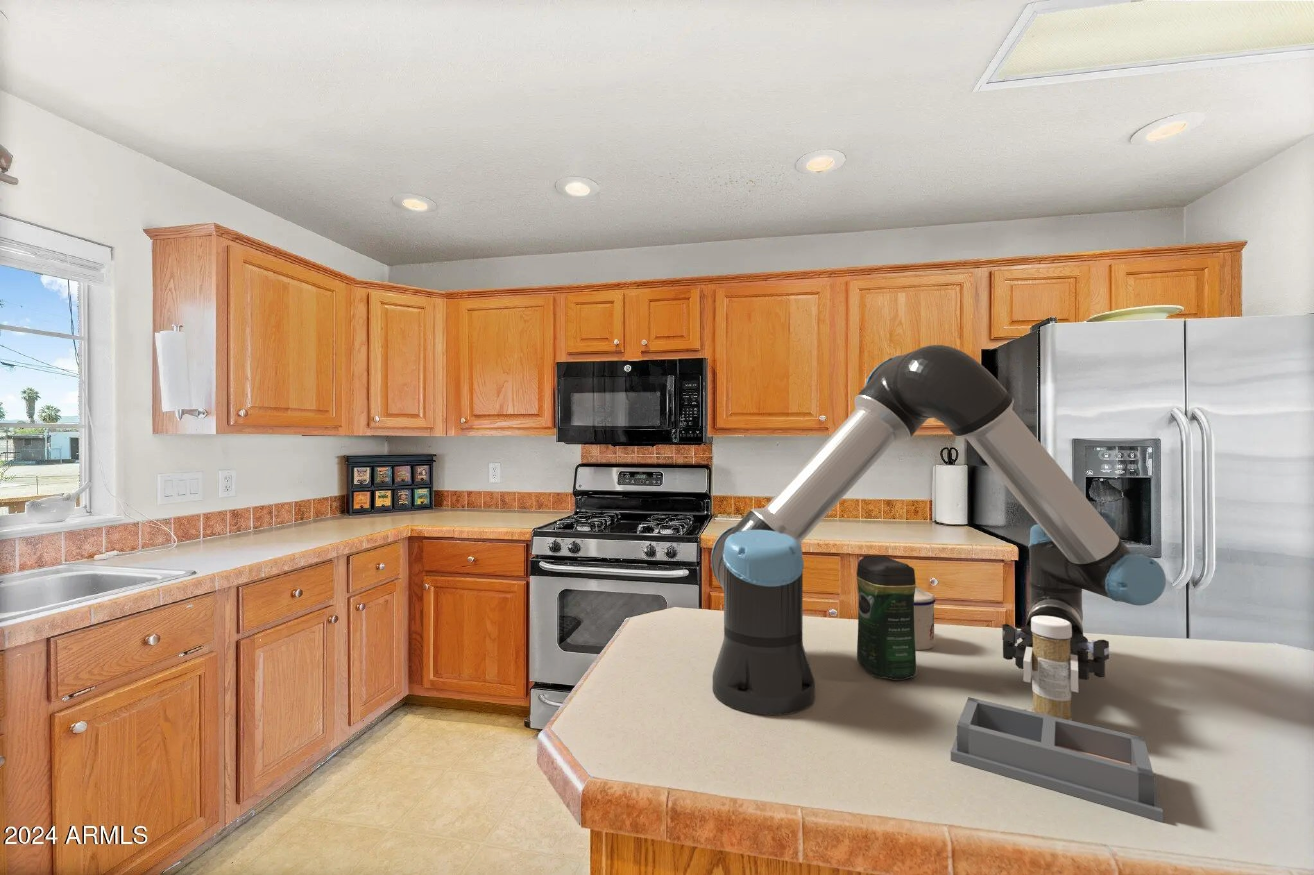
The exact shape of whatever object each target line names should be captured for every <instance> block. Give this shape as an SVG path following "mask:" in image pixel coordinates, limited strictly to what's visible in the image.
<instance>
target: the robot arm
mask: <svg viewBox="0 0 1314 875" xmlns="http://www.w3.org/2000/svg"><path fill="white" fill-rule="evenodd" d="M853 400H854V410H853V412H851V414H850V415H849V416H848V417H847V418H846V419H845V420H844V422H842V423H841V424H840V426H839V427H838V428H837V429H836V430H835V431H834V432H833V433H832V434H831V436H830V437H829V438H828V439H827V440H826V441H825V442H824V443H823V444H822V445H821V447H819V449H817V450H816V451H815V453H813V455H812V456H811V457H810V458H809V459H808V460H807V462H806V463H805V464H803V465H802V467H801V468H800V469H799V470H798V471H797V472H796V473H795V474H794V475H793V476H792V477H791V479H790V480H789V481H788V482H787V483H786V484H785V485H784V486H783V487H782V488H781V490H780V491H778V493H776V495H774V497H773V498H772V499H771V500H770V501H769V503H767V505H766V506H765V507H762V508H751V509H750V510H749V511H748V512H747V514H745V515H744V516H743V518H741V520H740V521H739V522H738V523H737V524H736V525H734V526H731V527H729V528H727V529H726V530H724V531H723V532H722V533H721V534H720V535H719V536H718V537H717V538H716V540H715V542H714V543H713V546H712V550H711V558H710V560H711V561H710V562H711V569H712V574H713V576H714V577H715V579H716V581H717V582H718V584H719V585H720V587H721V589H722V590H723V624H724V625H723V641H722V643H721V646H720V650H719V653H718V656H717V659H716V662H715V665H714V669H713V672H712V693H713V695H714V696H715V697H716V698H717V699H718V700H719V701H720V702H721V703H723V704H724V705H726V706H729V707H731V708H734V709H736V710H739V711H743V712H746V713H751V714H752V713H753V714H759V715H772V716H773V715H775V716H777V715H788V714H793V713H797V712H801V711H803V710H806V709H807V708H809V707H810V706H811V705H812V704H813V703H814V702H815V701H816V700H815V699H816V681H815V677H814V675H813V671H812V668H811V665H810V662H809V658H808V655H807V653H806V650H805V647H804V640H803V639H804V638H803V635H804V634H803V628H804V626H803V620H804V618H803V614H804V613H803V612H804V610H803V606H804V605H803V597H804V596H803V593H804V592H803V590H804V588H803V587H804V586H803V585H804V584H803V582H804V581H803V578H804V577H803V576H804V573H803V571H804V568H805V564H804V562H805V561H804V558H803V549H802V547H803V546H802V544H803V541H804V540H805V539H806V538H807V537H808V536H809V535H810V533H812V531H814V529H816V527H817V526H818V525H819V524H820V523H821V522H822V520H823V519H825V517H826V516H827V515H828V514H829V513H830V512H831V511H832V510H833V509H834V508H835V506H837V505H838V503H839V502H840V501H841V500H842V499H843V498H844V497H845V496H846V495H847V494H848V492H849V491H850V490H851V489H852V488H853V487H854V486H855V485H856V484H857V483H858V482H859V481H860V479H862V477H863V476H864V475H865V474H866V473H867V472H868V471H869V470H870V469H871V467H873V465H875V463H876V462H877V461H878V460H879V459H880V458H881V457H882V456H883V455H884V454H885V453H886V451H887V450H888V449H889V448H890V447H891V446H892V445H893V443H896V442H907V441H909V440H910V439H911V438H912V436H914V434H915V433H917V431H918V430H919V429H920V428H921V427H922V426H923V425H924V424H925V423H926V421H928V420H929V419H932V418H933V419H936V420H937V421H938V422H940V423H942V424H943V425H944V426H945V427H946V428H947V429H948V430H949V431H950V432H951V433H952V434H953V436H954V437H955V438H961V439H966V440H967V441H968V442H969V444H970V445H971V446H972V447H973V448H974V450H975V451H976V452H977V453H978V454H979V456H980V457H981V458H982V459H983V460H984V462H985V463H986V464H987V465H988V466H989V467H990V469H991V470H992V471H993V472H994V473H995V474H996V476H997V477H998V478H999V479H1000V481H1002V483H1003V485H1004V486H1005V487H1006V488H1007V489H1008V490H1009V491H1010V492H1011V493H1012V494H1013V496H1014V497H1015V498H1016V499H1017V501H1018V502H1019V503H1020V504H1021V506H1022V507H1023V508H1024V509H1025V510H1026V511H1027V513H1029V516H1031V517H1032V518H1033V519H1034V521H1035V522H1036V523H1037V524H1033V525H1032V527H1031V528H1030V531H1029V534H1030V535H1029V544H1028V549H1029V550H1028V551H1029V575H1030V576H1029V577H1030V581H1029V613H1028V615H1027V618H1026V623H1025V626H1022V627H1021V628H1020V629H1018V628H1017V627H1015V626H1012V625H1010V624H1009V623H1002V628H1001V629H1002V658H1003V659H1005V660H1009V661H1010V660H1014V659H1015V661H1014V662H1015V666H1016V667H1017V668H1018V669H1020V670H1021V669H1022V670H1023V673H1022V674H1023V678H1022V679H1023V682H1026V683H1032V682H1031V681H1032V680H1031V679H1032V669H1033V667H1032V660H1033V634H1032V631H1031V618H1032V617H1034V616H1052V617H1057V618H1061V619H1064V620H1067V621H1069V622H1070V623H1071V625H1072V637H1071V640H1070V659H1071V692H1073V693H1074V692H1075V693H1079V680H1083V681H1084V680H1085V681H1089V680H1090V674H1093V676H1095V677H1098V678H1100V679H1101V678H1106V661H1107V660H1109V659H1110V643H1109V640H1106V639H1102V638H1101V639H1097V640H1095V639H1091V641H1089V639H1088V638H1087V637H1086V636H1084V626H1083V590H1084V591H1088V592H1089V593H1093V594H1097V595H1100V596H1101V597H1102V596H1103V597H1105V598H1108V599H1110V600H1112V601H1115V602H1117V603H1119V602H1120V603H1124V604H1128V605H1129V604H1130V605H1132V606H1146V605H1150V604H1151V603H1154V602H1156V601H1157V600H1158V599H1159V598H1160V597H1161V595H1163V593H1164V591H1165V589H1166V584H1167V578H1166V574H1165V570H1164V568H1163V567H1162V566H1161V565H1160V563H1159V562H1158V561H1156V560H1155V559H1154V558H1151V557H1149V556H1146V555H1145V554H1142V553H1140V552H1137V551H1135V552H1133V551H1132V550H1131V549H1130V548H1129V547H1128V546H1127V544H1125V542H1123V540H1122V539H1121V538H1120V537H1119V536H1118V534H1117V533H1116V532H1115V531H1114V530H1113V529H1112V527H1111V526H1110V525H1109V524H1108V522H1106V520H1105V519H1104V518H1103V517H1102V516H1101V514H1100V513H1099V512H1098V511H1097V509H1096V508H1095V507H1094V506H1093V505H1092V503H1091V502H1090V501H1089V500H1088V499H1087V497H1086V496H1085V495H1084V494H1083V492H1082V491H1081V490H1080V488H1078V486H1077V485H1076V484H1075V483H1074V482H1073V481H1072V479H1071V478H1070V477H1069V476H1068V475H1067V473H1066V472H1065V471H1064V470H1063V468H1062V467H1061V465H1059V464H1058V462H1057V461H1056V460H1055V459H1054V458H1053V457H1052V454H1050V453H1049V451H1047V449H1046V448H1045V447H1044V446H1043V445H1042V444H1041V442H1040V441H1039V440H1038V439H1037V438H1036V436H1035V435H1034V433H1032V431H1031V430H1030V429H1029V428H1028V427H1027V426H1026V424H1025V423H1024V422H1023V421H1022V419H1021V418H1020V417H1019V416H1018V415H1017V414H1016V412H1015V411H1014V410H1013V407H1014V402H1015V400H1014V398H1013V397H1012V395H1011V394H1010V392H1008V391H1007V390H1006V388H1005V387H1004V386H1003V384H1001V383H1000V382H999V380H998V379H997V378H996V377H995V376H994V375H993V374H992V373H991V372H990V371H989V370H988V369H987V368H985V366H984V365H982V364H981V363H980V362H978V361H977V360H976V359H975V358H973V357H972V356H970V355H969V354H968V353H966V352H964V351H962V350H960V349H958V348H956V347H952V346H950V345H945V344H944V345H943V344H931V345H926V346H923V347H919V348H917V349H915V350H913V351H910V352H907V353H904V354H902V355H896V356H893V357H890V358H888V359H885V360H884V361H882V362H881V363H880V364H878V365H877V366H876V367H875V368H874V369H873V370H872V371H871V372H870V374H869V375H868V377H867V378H866V381H865V384H864V387H863V388H862V389H861V390H860V392H859V393H857V395H856V396H855V397H854V399H853ZM1020 639H1021V641H1019V642H1018V640H1020ZM1089 653H1091V657H1092V658H1093V659H1092V658H1089ZM1013 658H1014V659H1013Z"/></svg>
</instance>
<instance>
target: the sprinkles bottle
mask: <svg viewBox="0 0 1314 875" xmlns="http://www.w3.org/2000/svg"><path fill="white" fill-rule="evenodd" d="M1031 631H1032V634H1033V660H1032V667H1033V669H1032V676H1031V679H1032V680H1031V681H1032V682H1031V683H1032V684H1031V686H1032V687H1031V688H1032V698H1033V699H1032V706H1033V707H1032V709H1031V710H1032V711H1031V712H1035V713H1040V714H1044V715H1048V716H1053V717H1057V718H1061V719H1066V720H1070V721H1073V718H1072V714H1071V713H1072V712H1071V709H1072V708H1071V702H1072V691H1071V659H1070V640H1071V637H1072V625H1071V623H1070V622H1069V621H1067V620H1064V619H1061V618H1057V617H1052V616H1034V617H1032V618H1031Z"/></svg>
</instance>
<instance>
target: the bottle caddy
mask: <svg viewBox="0 0 1314 875" xmlns="http://www.w3.org/2000/svg"><path fill="white" fill-rule="evenodd" d="M950 761H952V762H956V763H960V764H963V765H966V766H970V767H972V768H976V769H979V770H980V769H981V770H984V771H987V772H990V773H994V774H996V775H997V774H998V775H1000V776H1004V777H1008V778H1011V779H1014V780H1017V781H1021V782H1024V783H1028V784H1031V785H1034V786H1038V787H1042V788H1045V789H1048V790H1051V791H1054V792H1058V793H1062V794H1065V795H1069V796H1072V797H1075V798H1080V799H1082V800H1085V801H1089V802H1091V803H1092V802H1093V803H1096V804H1099V805H1102V806H1105V807H1110V808H1112V809H1117V810H1120V811H1124V812H1126V813H1130V814H1133V815H1137V816H1141V817H1143V818H1147V819H1151V820H1154V821H1158V822H1160V823H1164V810H1163V806H1162V802H1161V799H1160V795H1159V791H1158V787H1157V783H1156V780H1155V776H1154V775H1155V774H1154V771H1153V767H1152V764H1151V759H1150V756H1149V752H1148V748H1147V745H1146V740H1145V737H1143V736H1138V735H1135V734H1129V733H1126V732H1120V731H1117V730H1113V729H1108V728H1103V727H1100V726H1095V725H1091V724H1086V723H1083V722H1079V721H1074V720H1072V721H1070V720H1066V719H1061V718H1057V717H1053V716H1048V715H1044V714H1040V713H1035V712H1032V711H1031V710H1027V709H1022V708H1019V707H1018V708H1017V707H1013V706H1008V705H1006V704H1005V705H1004V704H1001V703H996V702H991V701H987V700H984V699H978V698H974V697H971V696H969V697H968V698H967V700H966V702H965V705H964V707H963V710H962V712H961V714H960V717H959V719H958V721H957V725H956V736H955V740H954V742H953V744H952V747H951V749H950Z"/></svg>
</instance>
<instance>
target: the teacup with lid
mask: <svg viewBox="0 0 1314 875" xmlns="http://www.w3.org/2000/svg"><path fill="white" fill-rule="evenodd" d="M935 603H936V598H935V596H934V595H933V594H932V593H931V592H928V591H925V590H923V589H922V588H921V587H919V586H917V585H916V588H915V594H914V631H915V651H924V650H929V649H932V648H933V647H934V646H935Z"/></svg>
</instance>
